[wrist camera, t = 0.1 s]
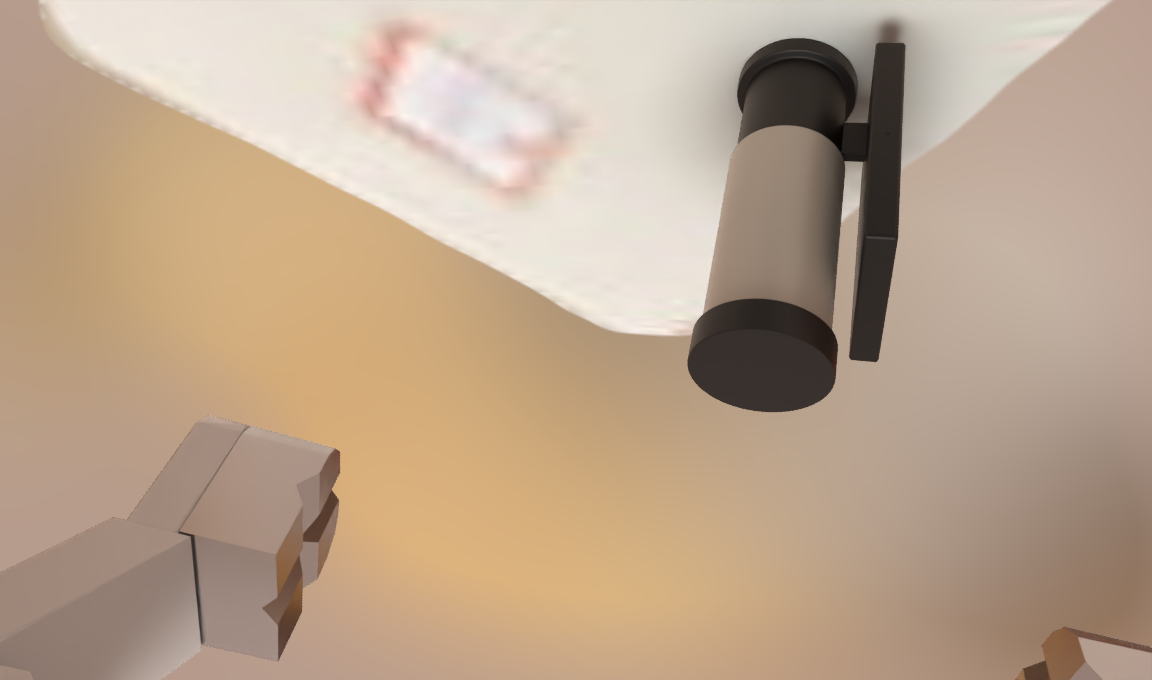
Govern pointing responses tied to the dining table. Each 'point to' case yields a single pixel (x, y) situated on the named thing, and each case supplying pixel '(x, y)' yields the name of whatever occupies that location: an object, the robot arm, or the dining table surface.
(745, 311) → the light fixture
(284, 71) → the dining table surface
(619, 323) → the dining table surface
